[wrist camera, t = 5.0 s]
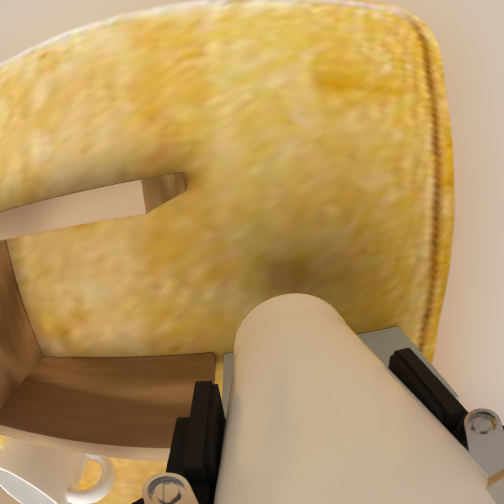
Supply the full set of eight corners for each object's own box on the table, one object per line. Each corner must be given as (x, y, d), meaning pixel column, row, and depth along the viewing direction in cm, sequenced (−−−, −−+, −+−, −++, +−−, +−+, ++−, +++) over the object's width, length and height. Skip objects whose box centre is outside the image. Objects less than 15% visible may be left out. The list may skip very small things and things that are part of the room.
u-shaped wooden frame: (215, 364, 24) (209, 460, 14) (38, 366, 23) (-10, 431, 14) (183, 172, 20) (141, 179, 10) (-9, 214, 19) (-90, 243, 10)
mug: (118, 416, 25) (88, 502, 15) (132, 465, 27) (114, 538, 17) (20, 391, 24) (-25, 455, 14) (43, 441, 26) (12, 501, 16)
